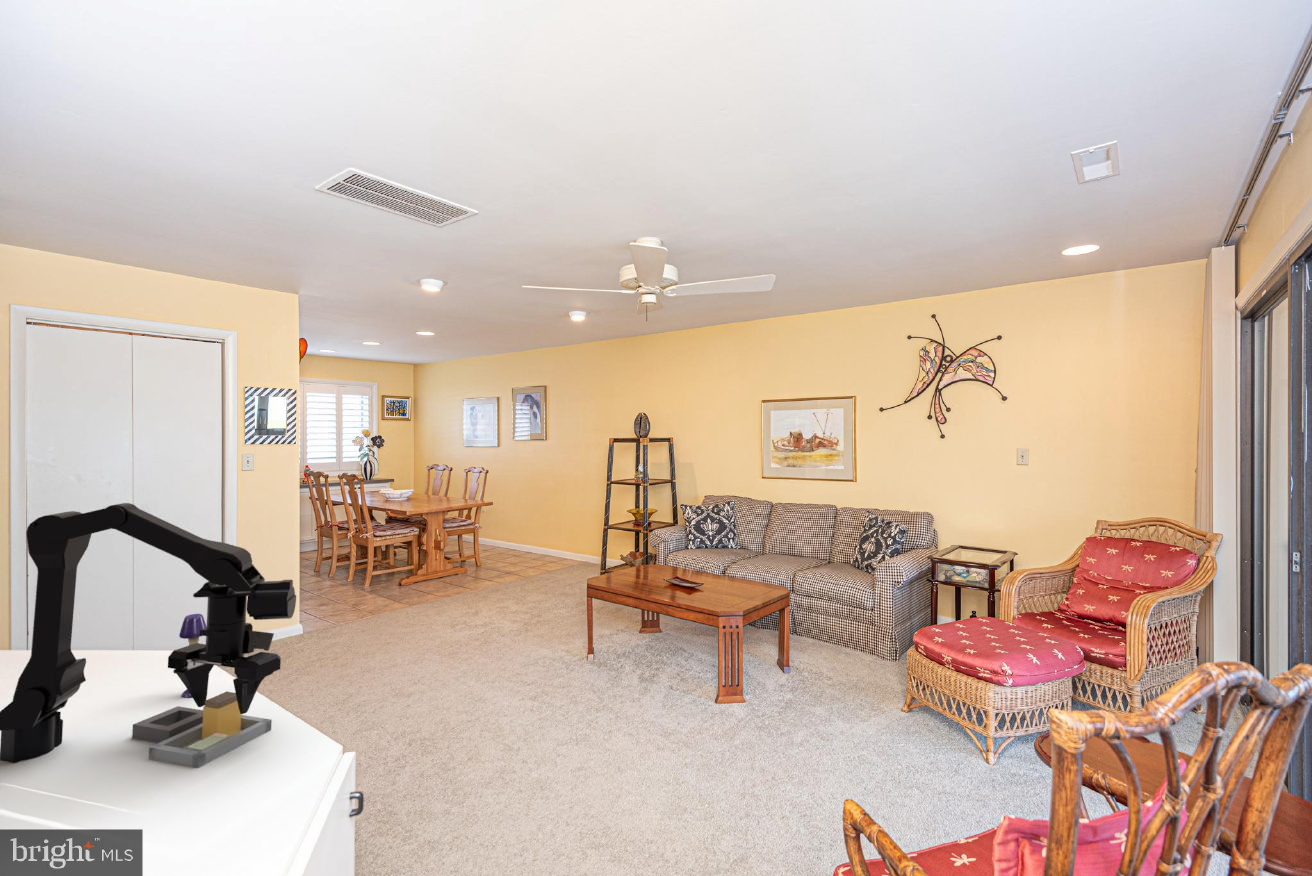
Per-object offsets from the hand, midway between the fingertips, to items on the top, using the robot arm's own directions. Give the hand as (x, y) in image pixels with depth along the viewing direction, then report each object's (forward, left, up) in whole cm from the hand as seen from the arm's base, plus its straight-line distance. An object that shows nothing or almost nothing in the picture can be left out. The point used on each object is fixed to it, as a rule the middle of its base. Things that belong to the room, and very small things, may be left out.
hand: (222, 709), depth 110 cm
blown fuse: (0, 0, -5) cm, 5 cm away
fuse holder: (-1, +9, -5) cm, 11 cm away
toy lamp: (+13, +21, -6) cm, 25 cm away
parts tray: (-2, -1, -5) cm, 6 cm away
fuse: (-5, -3, -5) cm, 8 cm away
